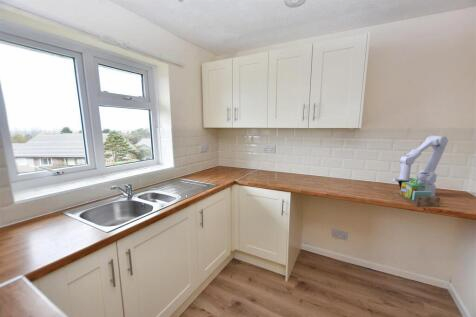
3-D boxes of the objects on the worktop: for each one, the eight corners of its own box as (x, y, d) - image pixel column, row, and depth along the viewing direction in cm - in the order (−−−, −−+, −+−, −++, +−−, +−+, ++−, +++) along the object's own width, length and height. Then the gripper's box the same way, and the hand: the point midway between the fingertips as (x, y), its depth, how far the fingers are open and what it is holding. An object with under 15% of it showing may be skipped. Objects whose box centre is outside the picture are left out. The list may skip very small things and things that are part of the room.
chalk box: (399, 196, 148) (401, 177, 146) (411, 196, 148) (414, 177, 146) (409, 201, 139) (412, 180, 137) (423, 201, 139) (426, 180, 137)
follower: (427, 202, 137) (429, 190, 136) (429, 203, 136) (431, 191, 134) (411, 202, 137) (413, 190, 136) (413, 203, 136) (415, 191, 134)
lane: (413, 195, 150) (414, 188, 149) (438, 206, 131) (440, 197, 130) (394, 195, 150) (395, 188, 149) (416, 206, 131) (418, 197, 130)
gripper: (410, 171, 153) (407, 188, 155) (391, 171, 153) (388, 188, 155) (418, 173, 146) (415, 191, 148) (398, 173, 146) (395, 191, 148)
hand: (402, 190), depth 151 cm, fingers closed
